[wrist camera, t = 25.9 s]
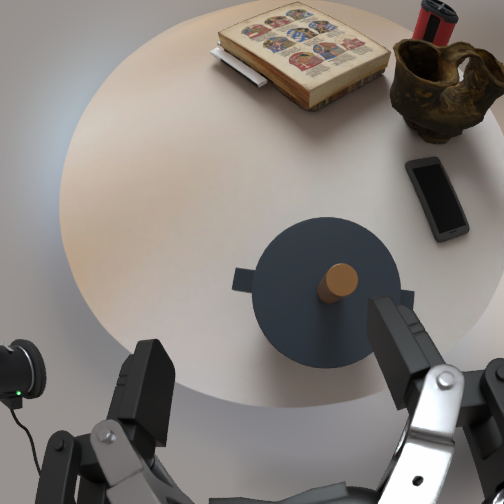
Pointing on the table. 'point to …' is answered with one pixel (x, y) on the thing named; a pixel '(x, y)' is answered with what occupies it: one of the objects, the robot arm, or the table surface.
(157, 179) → the table surface
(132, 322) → the table surface
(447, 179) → the cell phone
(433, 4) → the speaker
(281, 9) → the book
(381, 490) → the robot arm
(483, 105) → the pottery vessel
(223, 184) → the table surface
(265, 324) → the lid
